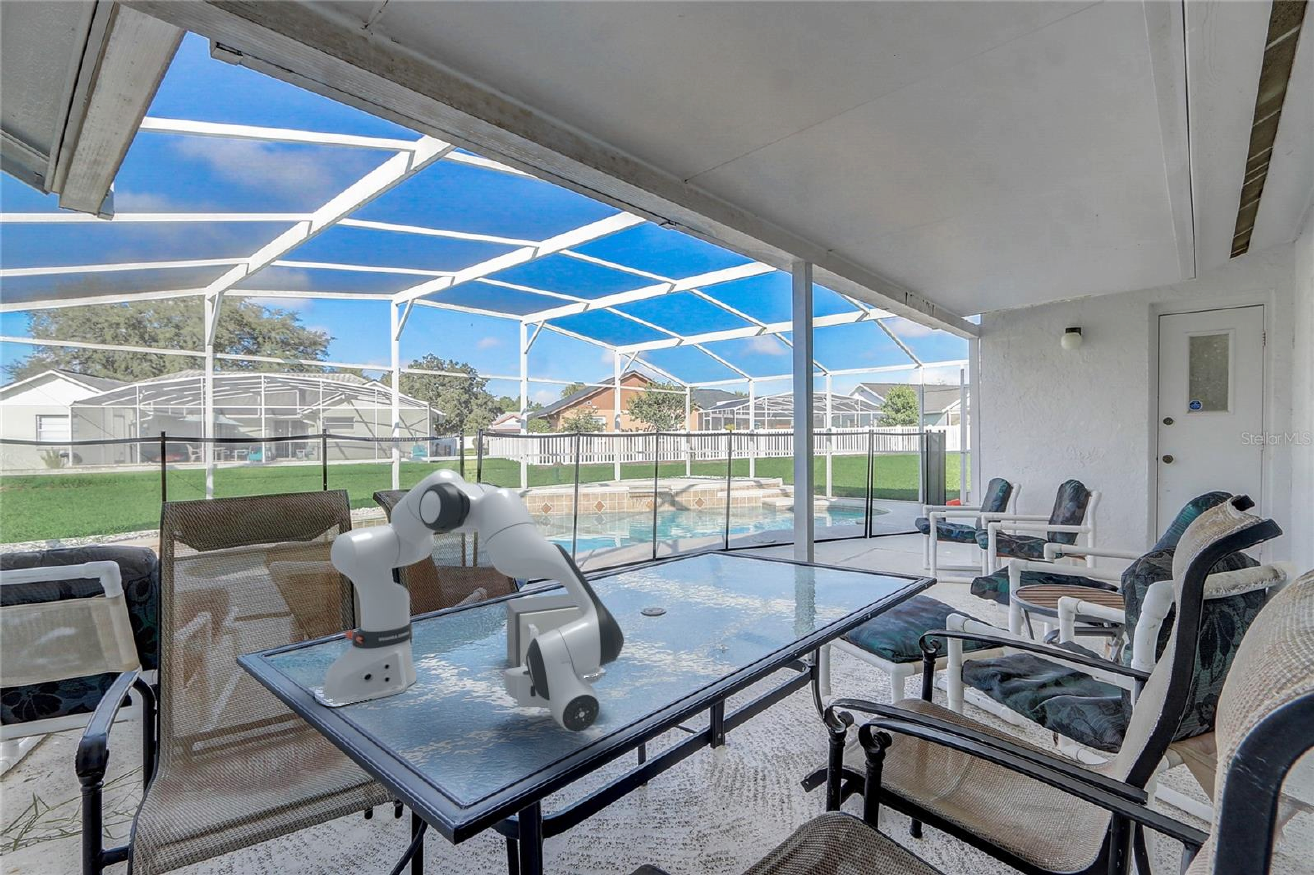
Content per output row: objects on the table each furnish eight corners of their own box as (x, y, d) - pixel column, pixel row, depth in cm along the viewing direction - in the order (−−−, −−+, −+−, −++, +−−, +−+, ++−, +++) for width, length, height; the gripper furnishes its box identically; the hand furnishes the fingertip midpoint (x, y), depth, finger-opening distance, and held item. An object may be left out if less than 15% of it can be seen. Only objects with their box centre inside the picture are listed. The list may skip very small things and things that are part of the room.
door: (525, 684, 142) (524, 621, 142) (520, 674, 148) (519, 614, 149) (610, 669, 150) (609, 610, 151) (602, 661, 157) (601, 604, 157)
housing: (516, 676, 148) (515, 612, 149) (507, 659, 161) (506, 600, 162) (599, 663, 157) (598, 602, 157) (585, 647, 170) (584, 591, 170)
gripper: (608, 660, 124) (590, 642, 137) (510, 676, 116) (500, 655, 129) (609, 690, 124) (590, 669, 137) (510, 709, 116) (500, 685, 129)
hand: (546, 663), depth 133 cm, fingers open, 8 cm apart
